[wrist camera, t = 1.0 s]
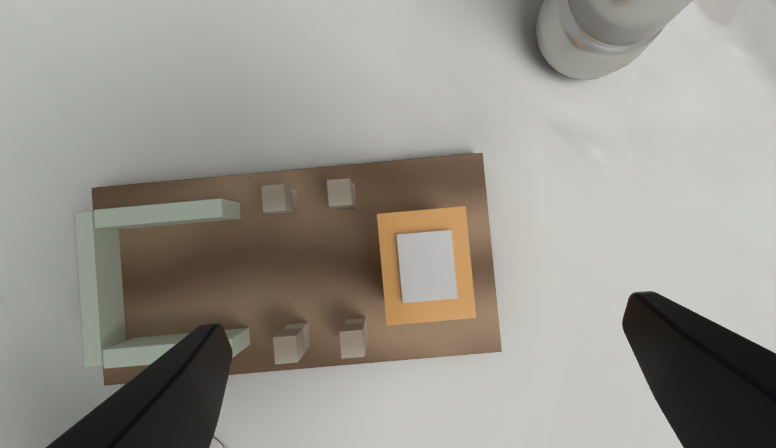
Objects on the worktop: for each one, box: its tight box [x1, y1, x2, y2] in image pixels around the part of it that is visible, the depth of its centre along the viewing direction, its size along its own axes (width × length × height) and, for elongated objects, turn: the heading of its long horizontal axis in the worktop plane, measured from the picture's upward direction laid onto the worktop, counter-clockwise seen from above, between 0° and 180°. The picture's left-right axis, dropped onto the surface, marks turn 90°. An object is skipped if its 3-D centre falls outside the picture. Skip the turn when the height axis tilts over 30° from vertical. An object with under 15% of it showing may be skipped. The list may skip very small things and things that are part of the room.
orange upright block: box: [377, 206, 476, 326], centre depth 20 cm, size 5×4×6 cm
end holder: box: [74, 199, 250, 369], centre depth 22 cm, size 9×8×2 cm
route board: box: [92, 153, 502, 385], centre depth 22 cm, size 12×24×4 cm, turn 95°
